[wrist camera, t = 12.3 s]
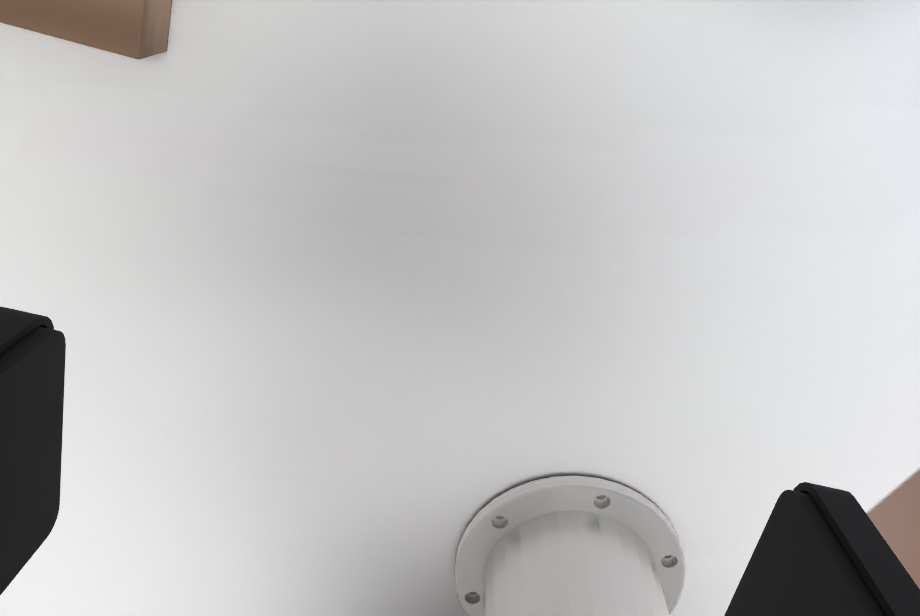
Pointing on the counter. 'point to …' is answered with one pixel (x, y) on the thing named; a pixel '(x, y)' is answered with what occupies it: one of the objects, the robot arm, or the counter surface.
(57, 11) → the frame
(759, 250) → the counter surface
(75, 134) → the counter surface
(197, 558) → the counter surface
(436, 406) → the counter surface
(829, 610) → the robot arm
